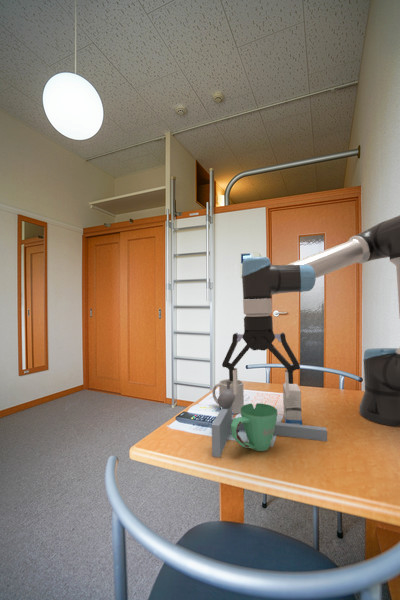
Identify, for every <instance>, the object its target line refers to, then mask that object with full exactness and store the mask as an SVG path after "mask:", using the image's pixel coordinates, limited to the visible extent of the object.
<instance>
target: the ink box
mask: <svg viewBox="0 0 400 600" xmlns="http://www.w3.org/2000/svg"><path fill="white" fill-rule="evenodd" d="M282 392H283V394H282V395H283V396H282V398H283V420H284V423H289V424H298V425H303V416H302V414H303V413H302V392H301V389H300V387H299V385H298V383H293V384H289V398H286V382H284V383H282Z"/></svg>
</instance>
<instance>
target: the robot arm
mask: <svg viewBox="0 0 400 600" xmlns="http://www.w3.org/2000/svg"><path fill="white" fill-rule="evenodd" d="M385 258H386V259H387V258H389V262H391V263H392V264H393V265H395V267H396V281H397V282H396V283H397V285H396V286H397V299H398V314H399V315H398V316H399V318H400V215H398V216H394V217H392V218H390V219H387V220H384V221H382V222H379V223H378V224H375V225H373V226H371V227H369V228H368V229H366V230H364V231H362V232H360V233H358V234H356V235H353V236H351V237H350V238H349V239H348V241H346V242H343V243H341V244H337V245H335V246H332V247H329V248H327V249H324V250H322V251H319V252H317V253H314V254H312V255H309V256H306V257H303V258H301V259H298V260H295V261H293V262H290V263H288V264H280V265H279V264H278V265H277V264H272V262H271V260H270V258H269V257H267V256H253V257H252V256H251V257H247V258H245V259H244V260H243V261H242V264H241V279H242V280H241V281H242V297H243V298H242V299H243V300H242V304H243V305H242V307H243V314H244V315H245V316H244V317H243V327H244V330H243V331H244V332H243V333H238V332H235V333H233V334H232V340H231V343H230V346H229V349H228V351H227V353H226V355H225V356H224V359H223V362H222V364H221V366H222V368H226V369H227V370H228V376H229V377H228V379H229V380H230V381H233V390H234V394H237V392H238V380H239V379H238V368H237V367H236V365H238V363H239V362H240V360H241V359H242V358H243V357H244V355H245V354H247V352H248V351H249V350H250V349H251V351H258V350H259V351H266V350H269V351H270V353H272V355H273V356H274V357H275V358H276V359H277V360H278V361H279V362H280V364H282V366H283V367H284V368H285V369H284V376H285V377H284V378H285V379H284V381H285V382H284V383H286V398H289V384H294V371H297V370H300V369H301V365H300V363H299V362H298V361H299V360H298V359H297V358H296V356H295V354H294V352H293V350H292V349H291V347H290V345H289V343H288V342H287V336H286V333H285V332H281V333H274V327H273V326H274V325H273V316H272V315H271V314H273V304H272V303H273V300H272V295H273V296H274V295H277V294H285V293H303V292H304V293H305V292H310V291H312V290H313V288H314V287H315V285H316V281H317V278H320V277H323V276H325V275H328V274H330V273H333V272H336V271H338V270H341V269H344V268H345V267H349V266H352V265H354V264H364V263H367V262H370V261H374V260H380V259H385ZM241 339H242V340H243V341H244V343H245V346H244V347H243V348H242V350H240V352H239V353H238V354H237V356H236V357H235V359H233V361H232V362H230V360H231V359H232V355H233V354H234V352H235V350H236V347H237V345H238V343H240V342H241ZM275 340H277V341H278V342H279V343H281V345H282V346H283V348H284V350H285V352H286V355H288V358H289V359H290V361H291V363H292V364H291V363H290V362H289V361H288V360H287V359H286V357H284V355H282V354H281V352H280V351H279V350H278V349H277V348H276V347H275V345H274V344H273V342H274V341H275ZM362 361H363V371H364V372H363V375H364V376H363V377H364V393H363V395H362V398H361V400H360V404H359V414H360V415H361V417H363V418H365V419H366V420H369V421H371V422H374V423H377V424H381V425H384V426H385V425H387V426H392V427H400V347H398V348H397V347H393V348H392V347H390V348H389V347H382V348H380V347H379V348H378V347H377V348H367V349H364V353H363V360H362Z"/></svg>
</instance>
